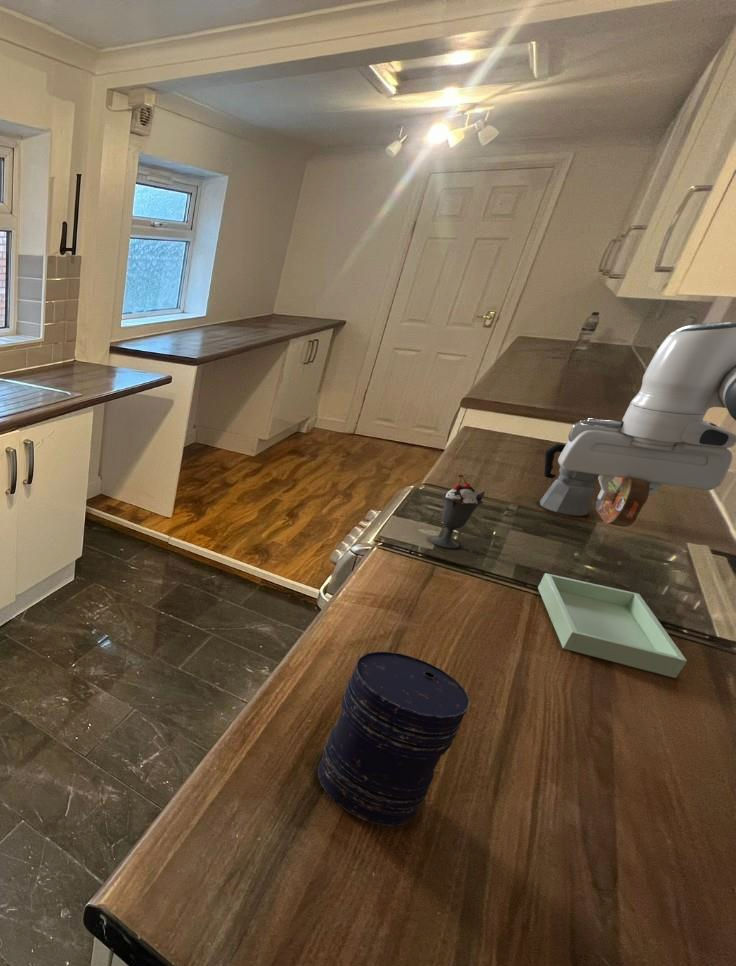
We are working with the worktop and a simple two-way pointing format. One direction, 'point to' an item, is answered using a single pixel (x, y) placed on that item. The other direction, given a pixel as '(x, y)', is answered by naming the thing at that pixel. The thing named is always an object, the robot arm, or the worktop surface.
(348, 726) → the navy ribbed drum
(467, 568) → the worktop surface
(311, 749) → the worktop surface
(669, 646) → the tray
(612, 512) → the tin
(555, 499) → the coffeepot
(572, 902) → the worktop surface
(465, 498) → the sundae
